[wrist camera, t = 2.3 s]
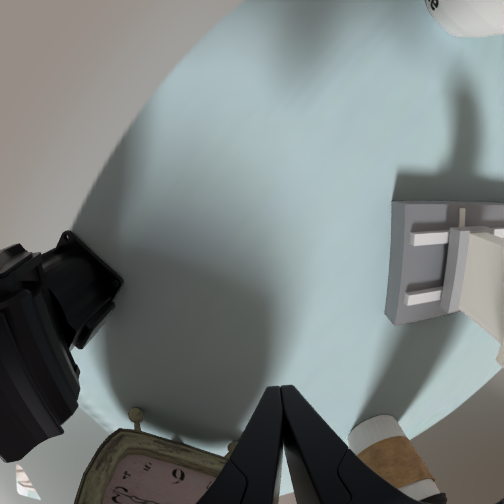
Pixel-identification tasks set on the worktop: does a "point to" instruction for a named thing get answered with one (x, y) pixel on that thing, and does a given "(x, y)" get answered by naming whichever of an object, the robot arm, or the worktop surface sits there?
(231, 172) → the worktop surface
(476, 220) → the fader console
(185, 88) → the worktop surface
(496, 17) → the cup
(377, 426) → the coffee cup
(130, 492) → the tabletop clock
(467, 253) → the plate
